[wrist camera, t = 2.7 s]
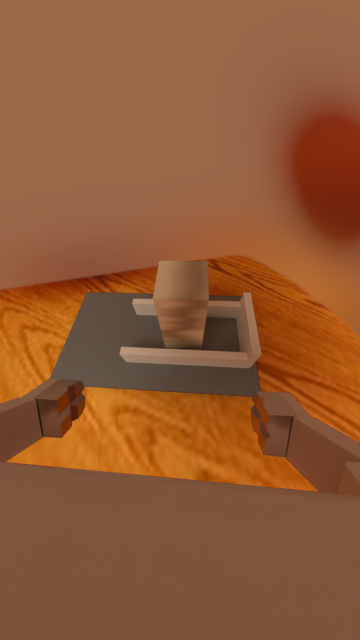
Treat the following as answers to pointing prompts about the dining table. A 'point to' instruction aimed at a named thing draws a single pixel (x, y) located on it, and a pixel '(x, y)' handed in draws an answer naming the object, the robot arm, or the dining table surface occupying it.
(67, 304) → the dining table surface
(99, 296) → the shelf lane
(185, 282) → the beech block
